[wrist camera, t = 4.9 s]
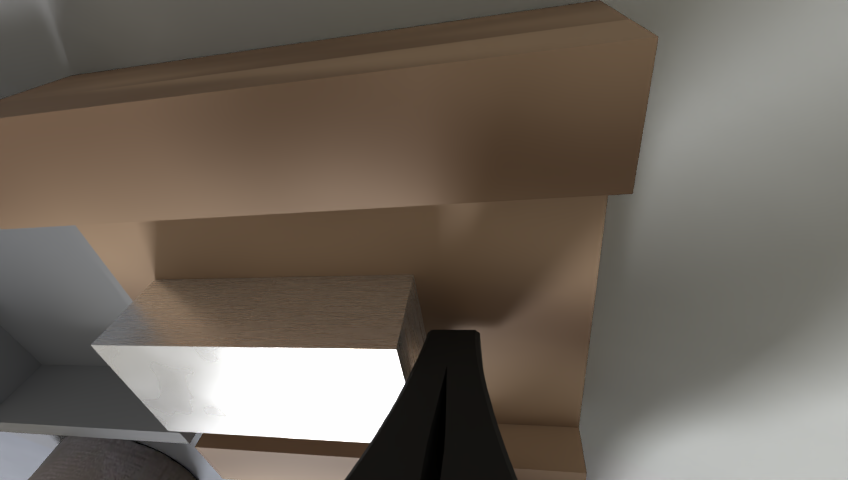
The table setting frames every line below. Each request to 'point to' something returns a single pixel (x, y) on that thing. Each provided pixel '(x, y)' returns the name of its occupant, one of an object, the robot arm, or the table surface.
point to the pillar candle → (107, 462)
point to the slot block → (366, 191)
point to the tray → (63, 342)
